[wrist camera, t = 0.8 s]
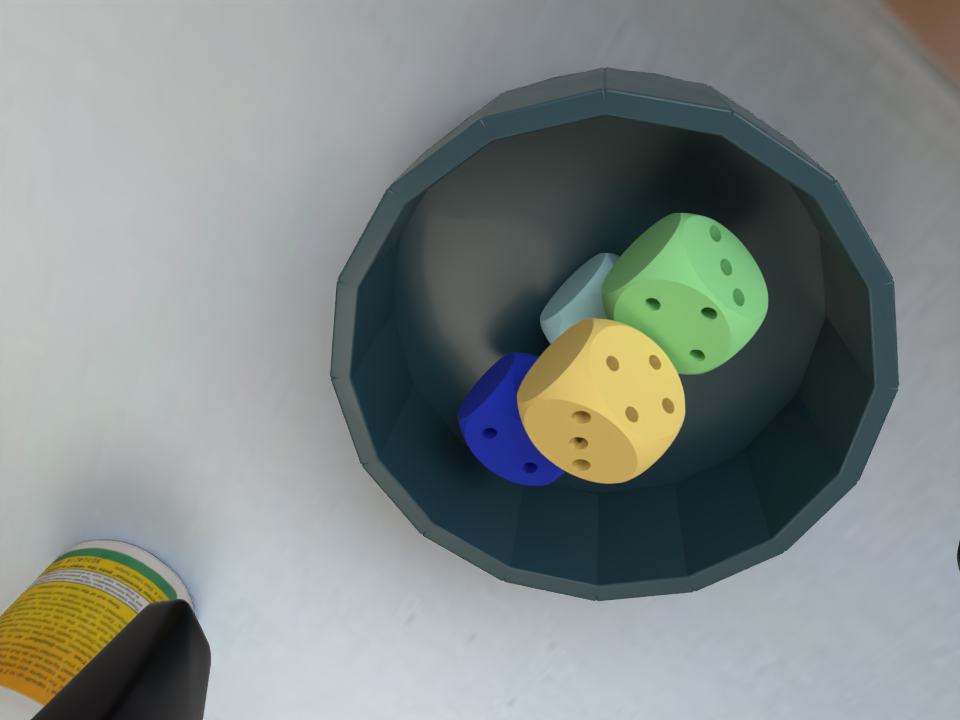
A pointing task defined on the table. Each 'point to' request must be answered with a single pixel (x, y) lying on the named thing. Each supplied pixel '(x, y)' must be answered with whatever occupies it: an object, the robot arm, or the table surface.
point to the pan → (516, 328)
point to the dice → (618, 357)
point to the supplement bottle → (74, 618)
